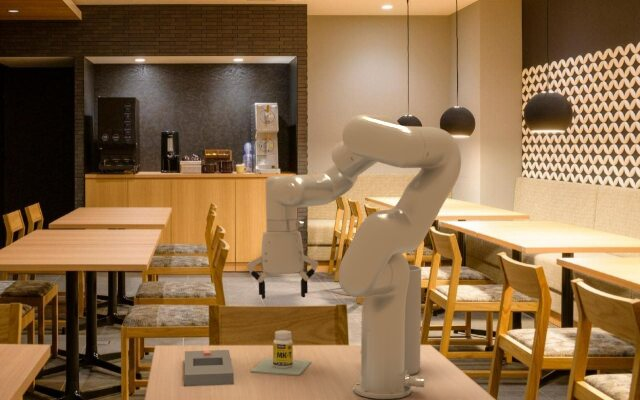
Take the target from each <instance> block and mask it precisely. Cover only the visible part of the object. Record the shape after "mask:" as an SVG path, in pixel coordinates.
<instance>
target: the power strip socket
mask: <svg viewBox="0 0 640 400" xmlns="http://www.w3.org/2000/svg"><path fill="white" fill-rule="evenodd" d="M231 359H232V358H231V353H230V349H218V350H217V349H215V350H213V349H211V350H209V349H208V350H187V351H186V350H185V351H184V387H189V386H191V387H192V386H209V385H210V386H212V385H213V386H216V385H234V383H235V382H234V381H235V380H234V379H235V376H234V375H235V374H234V368H233V363H232V360H231Z"/></svg>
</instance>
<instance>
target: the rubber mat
mask: <svg viewBox="0 0 640 400" xmlns="http://www.w3.org/2000/svg"><path fill="white" fill-rule="evenodd" d="M310 365H312V361H311V360H310V361H309V360H296V359H295V360H294V359H293V364H292V366H291V367H289V368H276V367H274V366H273V358H264V359H263V360H262V361H260V362H259V363H258V364H256V365H255V366H254V367H253V368H252V369H251V370H250V373H254V374H268V375H270V374H271V375H282V376H283V375H284V376H296V377H297V376H298V377H299V376H301V375H302V374H303V373H304V371H306V369H308V367H309V366H310Z"/></svg>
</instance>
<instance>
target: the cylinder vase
mask: <svg viewBox="0 0 640 400" xmlns="http://www.w3.org/2000/svg"><path fill="white" fill-rule="evenodd" d="M409 269H410V277H409V283H408V288H407V294H406V304H405V345H404V369H407V375H410V376H414V375H416V374H417V373H418V372H419V371H420V369H421V333H422V330H421V325H422V322H421V320H422V318H421V317H422V267H420V266H418V265H413V264H409Z"/></svg>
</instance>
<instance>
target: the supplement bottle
mask: <svg viewBox="0 0 640 400" xmlns="http://www.w3.org/2000/svg"><path fill="white" fill-rule="evenodd" d="M272 344H273V345H272V352H273V353H272V359H273V366H274V367H276V368H289V367H291V366H292V364H293V360H294V359H293V357H294V355H293V354H294V353H293V351H294V348H293V347H294V346H293V345H294V343H293V340H292V331H290V330H283V329H282V330H276V331H275V332H274V340H273V342H272Z"/></svg>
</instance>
